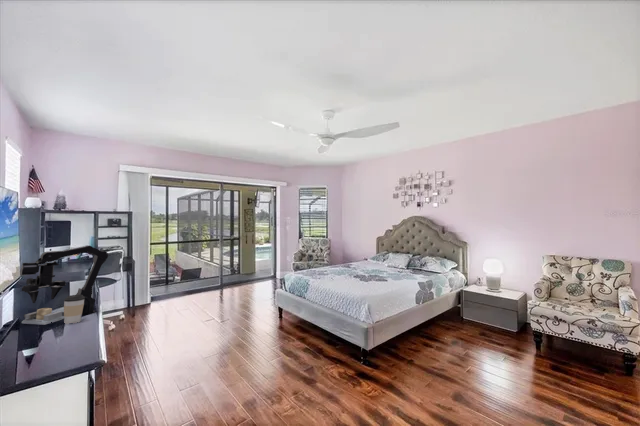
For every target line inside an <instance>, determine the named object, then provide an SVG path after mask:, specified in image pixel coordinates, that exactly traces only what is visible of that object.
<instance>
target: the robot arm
mask: <svg viewBox="0 0 640 426" xmlns="http://www.w3.org/2000/svg"><path fill="white" fill-rule="evenodd" d="M85 253H88V254H90V255H92V256H93V259H92V260H93V263H92V265H91V268H90V271H89V273H88V276H87V278H86V281H85V283H84V285H83V286H82V288H78V290H77V292H76V293H75V295H83V296H84V297H85V299H84V306H83V311H82V315H89V314H93V313H95V312H96V310H94V308H95V303H96V301H97V300H96V299H95V298H94V297H92V296H93V286H94V285H95V282H96V279H97V277H98V274H99V272H100V270H101V267H102V265H103V264H104V263H105V262H106V261H107V259H108V257H109V253H108V252H107V251H104V250H100V249H98V248H95V247H93V246H91V245H90V244H89V245H84V246H80V247H79V246H78V247H73V248H69V249H63V250H52V251H49V250H48V251H45V252H44V251H43V253H41V254H40V257H39V258H38V259H37V260H36V261H34V262H22V263H21V267H20V271H19V273H20V276H30V275H36V274H37V273H38V274H39V275H37V276H36V277H35V278H33V277H30V278H27V279H26V280H25V282H26V283H25V284H26V285H23V286H22V287H21V292H24V293H27V294H28V295H29V297H30V299H31V302H32V303H33V304H36V302H37V300H38V295H39V293H40V291H39V289H44V288H49V287H50V290H51V292H50V293H51V294H50V295H51V297H50V299H51V300H54V299H55V297H56V296H57V295H58V293H59V292H60V291H61V290H62V289H63V288H64V287H66V285H67V282H66V281H65V280H55V281H53V280H54V277H55V276H56V274H55V275H54V270H55V269H54V268H55V266H59V265H60V264H59V263H58V262H57V260H60V259H63V258H65V257H70V256H74V255H75V256H76V255H79V254H85ZM55 278H56V277H55Z"/></svg>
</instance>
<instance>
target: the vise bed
mask: <svg viewBox="0 0 640 426" xmlns="http://www.w3.org/2000/svg"><path fill="white" fill-rule="evenodd" d="M61 320H64V315H63V311H58V310H57V311H54V312H52V313H51V314H47V315H44V320H37V319H36V318H35V319H32V320H25V319H23V320H22V321H21V324H25V325H26V324H27V325H41V326H42V325H43V326H44V325H48V324H52V323H55V322H58V321H61ZM51 322H52V323H51Z"/></svg>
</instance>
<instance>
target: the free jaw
mask: <svg viewBox="0 0 640 426" xmlns="http://www.w3.org/2000/svg"><path fill="white" fill-rule="evenodd" d="M36 316H37V311H33V312H29V313H27V314H26V313H25V314H23V318H24V320H32V319H35V318H36Z"/></svg>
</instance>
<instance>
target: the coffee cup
mask: <svg viewBox="0 0 640 426" xmlns="http://www.w3.org/2000/svg"><path fill="white" fill-rule="evenodd" d="M84 299H85V297H84V296H83V295H76V294H72V295H68V296H66V298H64V299H63V303H64V304H63V316H64V319H63V322H64V323H65V324H64V325H70V324H69V323H73V324H77V322H78V323H80V322H81V320H82V315H83V314H82V311H83V306H84Z"/></svg>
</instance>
